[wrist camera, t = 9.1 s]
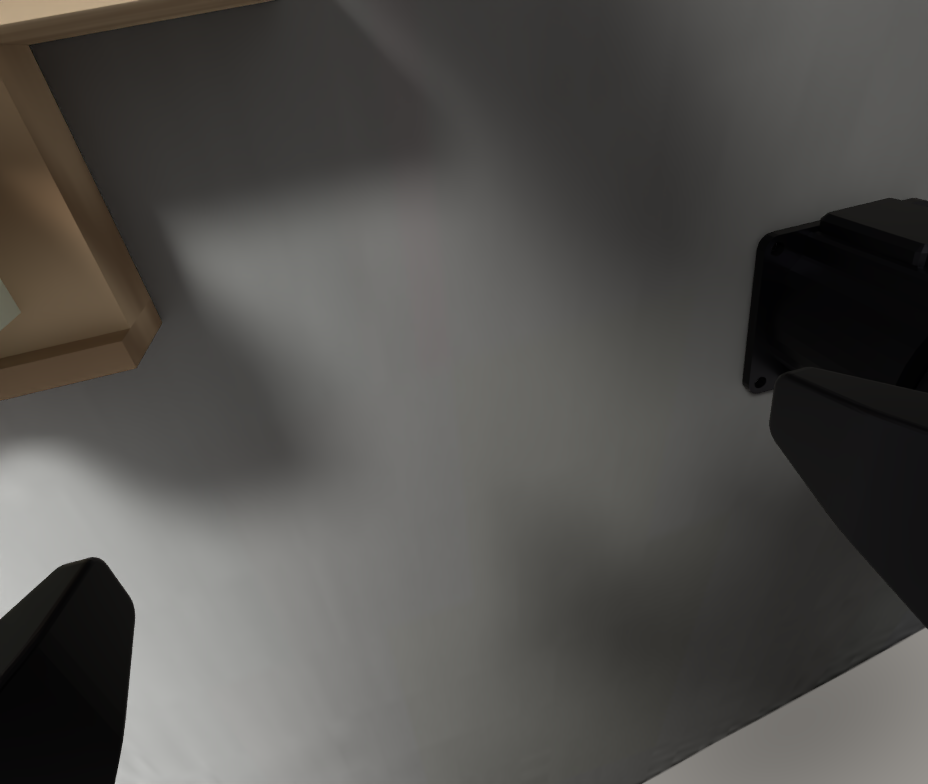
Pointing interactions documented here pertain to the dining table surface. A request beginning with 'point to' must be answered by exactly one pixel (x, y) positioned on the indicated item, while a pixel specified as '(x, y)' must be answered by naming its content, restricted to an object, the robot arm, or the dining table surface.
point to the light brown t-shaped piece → (64, 211)
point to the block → (7, 307)
